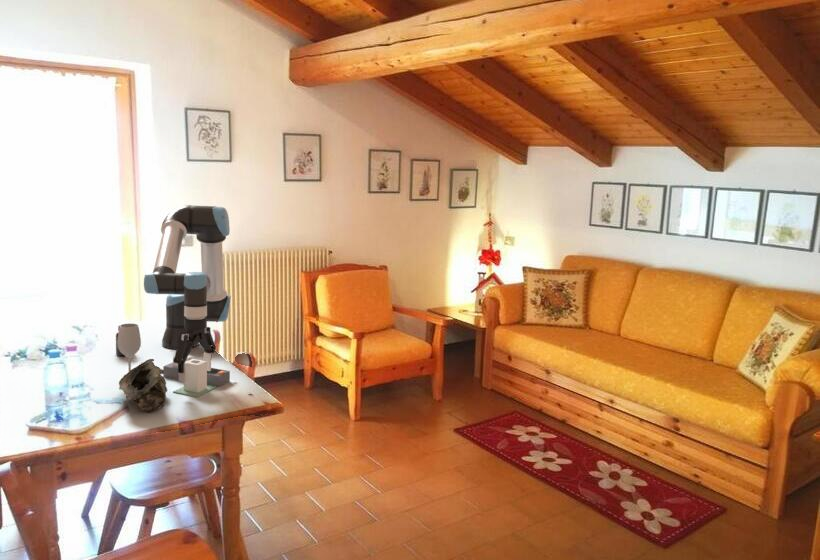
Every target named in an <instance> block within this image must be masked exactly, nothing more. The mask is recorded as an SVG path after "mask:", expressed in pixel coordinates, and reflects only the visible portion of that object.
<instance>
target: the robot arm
mask: <svg viewBox="0 0 820 560" xmlns="http://www.w3.org/2000/svg"><path fill="white" fill-rule="evenodd" d="M160 232H161V234H162V235H161V239H160V244H159V248H158V251H157V255H156V259H155V263H154V268H153V272H152V271H150V272H146V273H145V274H144V277H143V290H144V292H145V293H146V294H149V295H150V294H151V295H167V296H166V299H165V300H166V302H165V303H166V304H165V312H166V313H165V315H166V318H165V319H166V321H165V322H166V323H165V324H166V326H165V331H164V334H163V337H162V339H161V346H162V347H164V348H166V349H174V350H175V354H174V360H173V359H172V363H173V362H174V363H178V373H179V379H178V382H181V383H184V382H187V363H185V361H186V359H187V357H188V355H189V356H190V353H191V350H192V348H195V347H196V346H197V347H198V345H199V346H201V348H202V349H203V350H204V351H205V352H203V360H202V361H207V371H211V368H212V354H214V353H215V350H216V349H217V348H216V344H215V342H214V338H213V335H212V333H211V327H210V326H208V322H209V323H210V322H211V323H212V322H216V323H219V322H226V321H227V320H228V317H229V312H230V311H229V310H230V304H231V297H232V296H231V295H229V294H228V291H227V289H225V288H224V268H223V267H224V266H223V265H224V262H223V261H224V260H223V259H224V258H223V243H224V242H225V240H226V239H227V236H229V235H230V217H229V213H228V210H227V209H226V208H225V207H223V206H216V205H213V206H212V205H211V206H210V205H192V204H187V205H186V204H184V205H181V206H179V207H177V208H175V209H173V210H172V211H170V212H169V213H168V214H167V216H166V217H165V218H164V220H163V222H162V223H161V228H160ZM187 235H195V236H196V241H198V242H199V243H200V255H201V256H200V258H201V259H200V261H201V271H191V272H187V273H177V269H178V268H177V267H178V262H179V260H180V259H179V258H180V255H181V249H182V245H183V244H182V243H183V241H184V240H183V239H184V238H185V237H186V236H187ZM182 359H183V360H182Z"/></svg>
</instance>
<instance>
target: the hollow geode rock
mask: <svg viewBox="0 0 820 560" xmlns="http://www.w3.org/2000/svg"><path fill="white" fill-rule="evenodd" d="M154 361H155V359H154V358H149V359H147V360H145V361H144V362H141V363H139V365H137V366H136V367H133V368H131V370H130V372H129V371H128V372H127V373H126V374H124V375H123V376H122V378H121V379H119V381H118V385H119V388H118V389H119V390H120V391H123V394H124V395H126V396H125V399H127V400H133V401H134V400H135V402H136V403H135V404H136V407H137V409H138V410H139V411H141V412H145V413H148V414H150V413H154V412H156V411H157V410H158V409H160V408H161V407H164V404H165V402H166V397H167V393H168V387H167V381H166V377H164V376H163V375H162V372H161V370H160V369H161V368H160V367H159V366H157V365H155V363H154Z"/></svg>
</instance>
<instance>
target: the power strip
mask: <svg viewBox="0 0 820 560" xmlns="http://www.w3.org/2000/svg"><path fill="white" fill-rule="evenodd" d="M160 370H161V373H163V375H162V376H163V377H164V378H169V379H175V380H179V373H178V368H173V362H170V363H168V364H165V365H164V366H163V367H162V368H160ZM230 375H231V371H230V370H225V369H221V368H217V367H216V368H214V367H211V371H207V385H210V386H215V387H217V388H219V387H221V386H224V385H225V384H228V383H229V382H230V379H231V378H230V377H231V376H230Z"/></svg>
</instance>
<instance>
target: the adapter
mask: <svg viewBox="0 0 820 560" xmlns="http://www.w3.org/2000/svg"><path fill="white" fill-rule="evenodd" d="M174 357H175V356H174ZM174 357H173V358H172V363H173V368H178V363H174V362H173V360H174ZM191 359H194V356H193V355H190V354H189V355H188V357H187V359H186V361H189V360H191ZM182 360H183V359H182ZM186 361H185V362H186Z"/></svg>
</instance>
